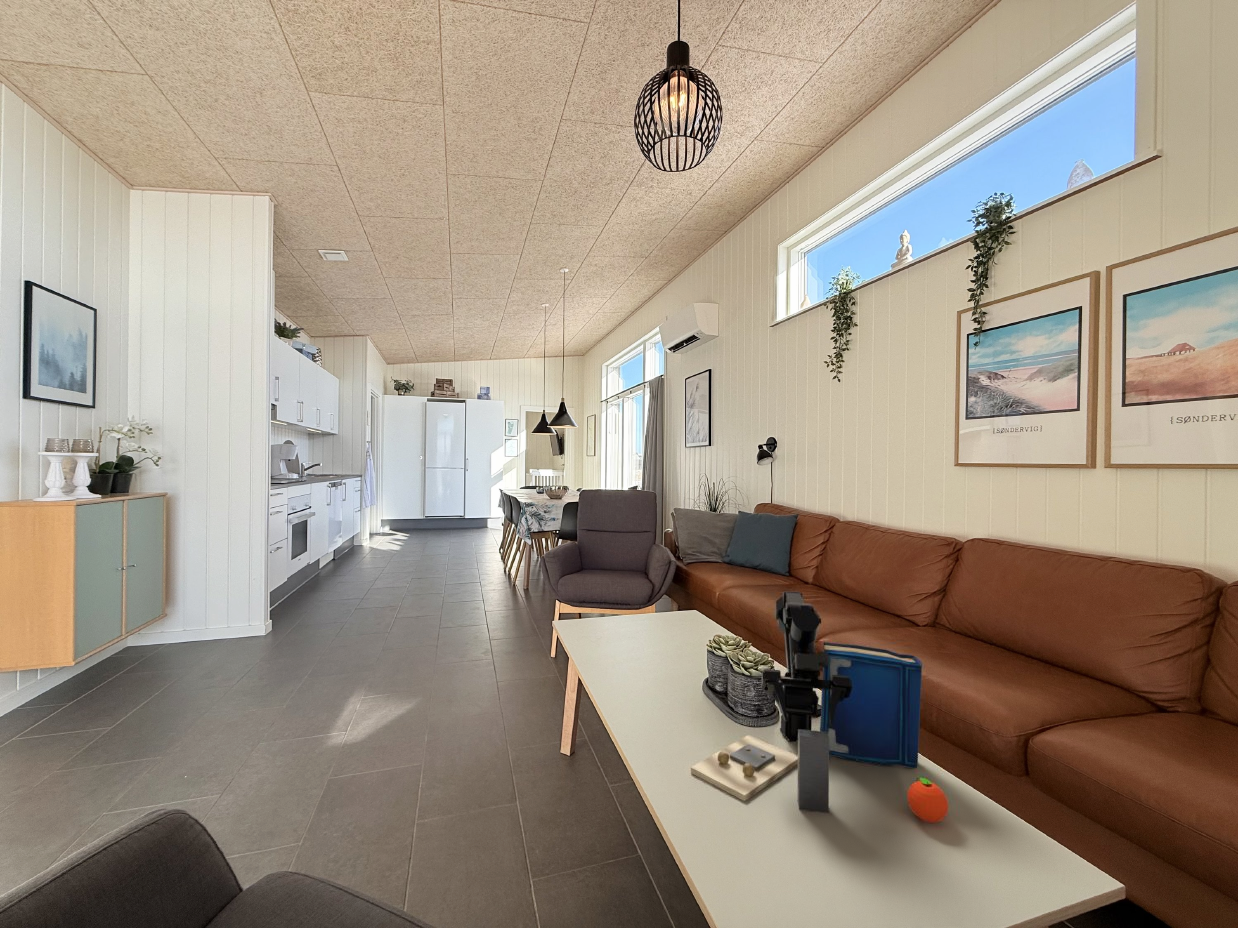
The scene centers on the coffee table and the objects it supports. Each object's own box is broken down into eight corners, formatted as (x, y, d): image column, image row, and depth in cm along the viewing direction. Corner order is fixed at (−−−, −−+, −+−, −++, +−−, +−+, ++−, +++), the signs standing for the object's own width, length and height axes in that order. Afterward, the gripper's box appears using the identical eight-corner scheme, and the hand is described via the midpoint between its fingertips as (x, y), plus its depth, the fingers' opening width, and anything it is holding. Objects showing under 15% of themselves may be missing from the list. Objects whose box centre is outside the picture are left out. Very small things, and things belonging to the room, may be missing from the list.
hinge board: (748, 739, 138) (748, 725, 138) (800, 762, 128) (800, 747, 128) (690, 772, 123) (690, 757, 123) (744, 801, 112) (744, 784, 113)
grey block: (795, 790, 116) (796, 721, 116) (823, 794, 115) (824, 723, 115) (799, 809, 110) (799, 735, 110) (828, 813, 109) (829, 738, 109)
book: (918, 758, 130) (919, 650, 130) (924, 773, 123) (925, 660, 123) (819, 742, 137) (820, 640, 137) (819, 756, 130) (820, 649, 130)
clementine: (898, 804, 112) (898, 768, 112) (933, 805, 112) (933, 769, 112) (918, 830, 104) (918, 791, 104) (956, 831, 104) (956, 792, 104)
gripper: (762, 633, 125) (764, 702, 115) (850, 639, 122) (861, 711, 111) (760, 656, 133) (762, 723, 122) (843, 662, 129) (853, 732, 118)
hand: (808, 722), depth 118 cm, fingers open, 9 cm apart
